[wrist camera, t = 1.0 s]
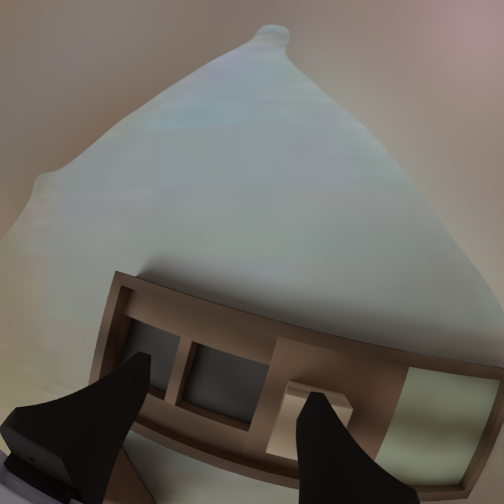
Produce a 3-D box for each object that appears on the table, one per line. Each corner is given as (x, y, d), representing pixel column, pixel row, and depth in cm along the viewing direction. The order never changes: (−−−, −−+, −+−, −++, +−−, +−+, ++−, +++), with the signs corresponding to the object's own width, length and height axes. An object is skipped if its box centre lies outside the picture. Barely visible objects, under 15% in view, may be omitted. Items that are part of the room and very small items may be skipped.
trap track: (453, 484, 18) (467, 498, 15) (105, 397, 26) (85, 403, 22) (499, 367, 21) (519, 370, 17) (135, 276, 28) (115, 270, 25)
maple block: (325, 442, 20) (330, 466, 16) (271, 430, 21) (265, 452, 17) (343, 393, 21) (353, 409, 17) (288, 380, 22) (285, 393, 18)
